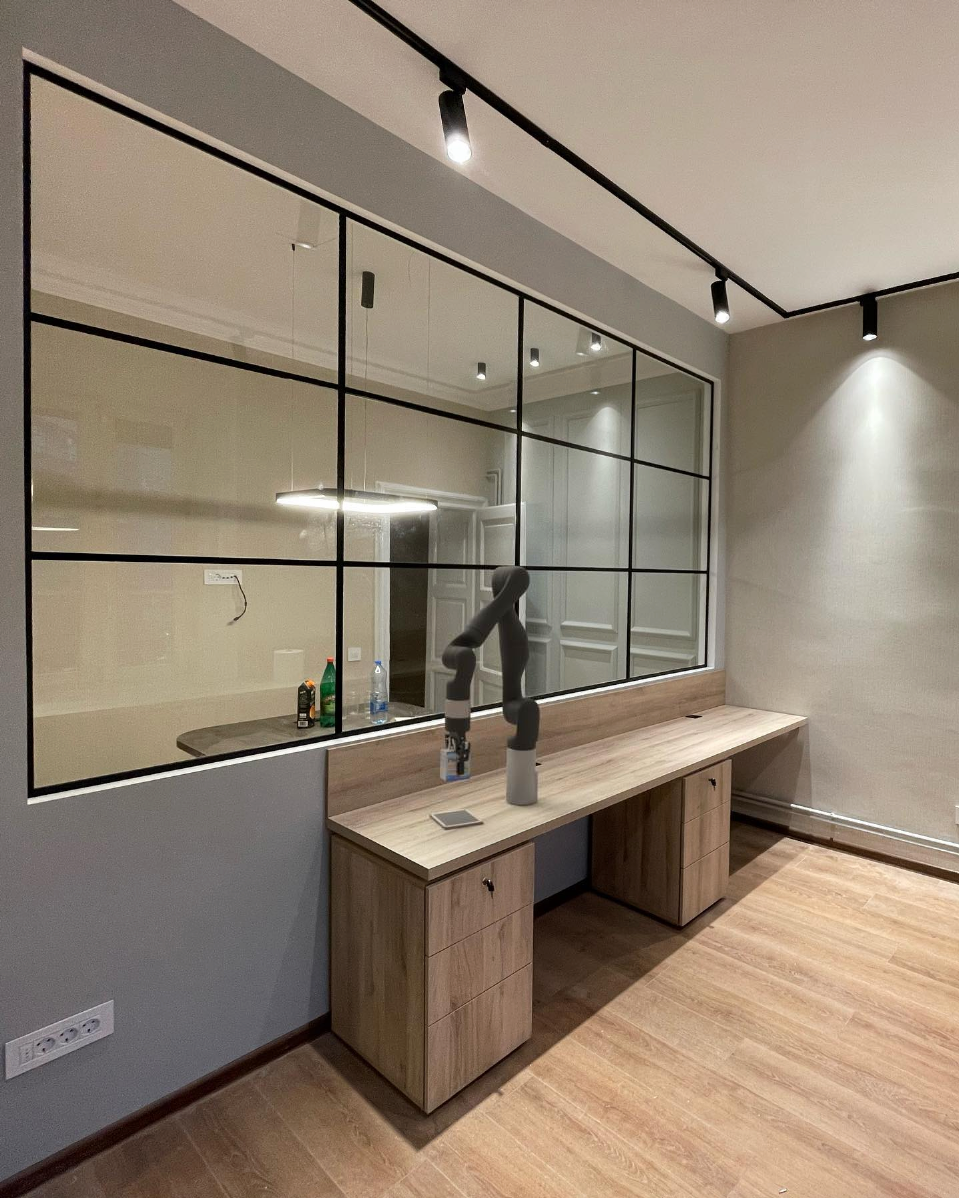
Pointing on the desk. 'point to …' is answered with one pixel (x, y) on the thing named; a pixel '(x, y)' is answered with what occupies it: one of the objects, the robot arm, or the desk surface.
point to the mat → (456, 819)
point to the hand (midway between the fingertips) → (456, 772)
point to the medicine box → (452, 766)
